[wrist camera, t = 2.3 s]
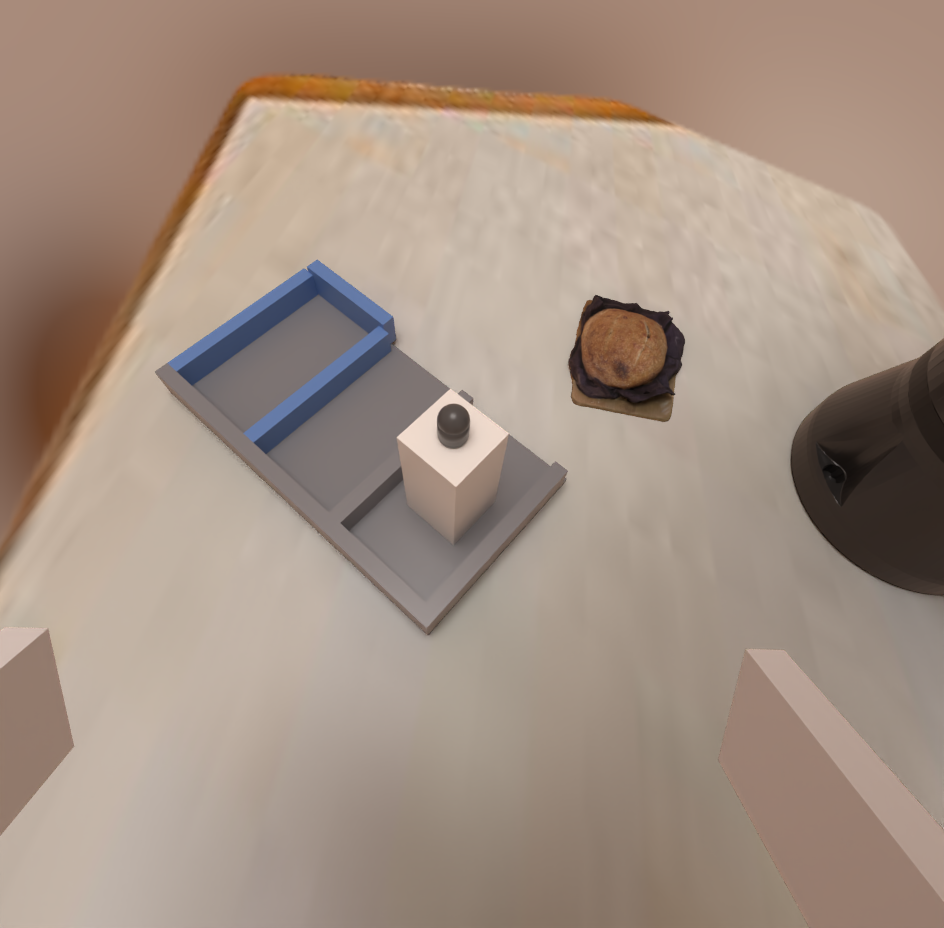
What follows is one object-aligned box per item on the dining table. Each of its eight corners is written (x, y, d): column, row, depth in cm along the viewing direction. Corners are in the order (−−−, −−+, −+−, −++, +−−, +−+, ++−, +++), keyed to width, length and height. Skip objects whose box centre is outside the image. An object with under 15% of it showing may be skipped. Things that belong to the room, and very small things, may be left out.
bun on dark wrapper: (672, 430, 40) (692, 403, 37) (559, 406, 41) (569, 377, 37) (680, 319, 45) (698, 286, 42) (578, 298, 45) (589, 265, 42)
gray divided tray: (320, 284, 44) (312, 256, 41) (569, 476, 37) (579, 457, 35) (170, 391, 39) (150, 367, 36) (427, 635, 32) (426, 626, 30)
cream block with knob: (449, 464, 37) (451, 361, 27) (494, 501, 36) (514, 409, 26) (407, 505, 36) (392, 413, 25) (453, 545, 35) (456, 466, 24)
